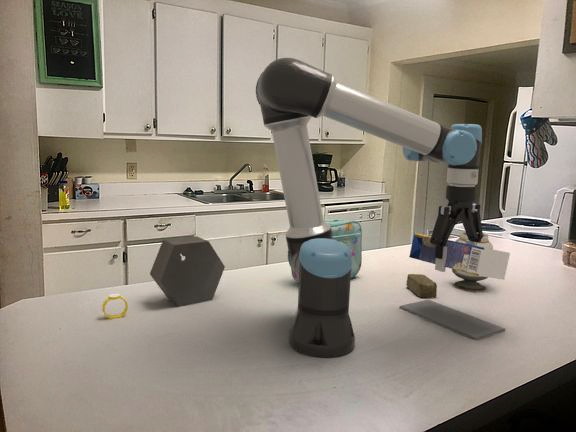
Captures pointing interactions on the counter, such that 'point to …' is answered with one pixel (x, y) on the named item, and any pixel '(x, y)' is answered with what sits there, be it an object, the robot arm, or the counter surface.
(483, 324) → the mat
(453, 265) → the beverage box
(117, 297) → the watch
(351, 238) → the lunch box
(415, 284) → the stone block
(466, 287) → the apothecary jar
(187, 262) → the planter
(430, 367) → the counter surface
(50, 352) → the counter surface
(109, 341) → the counter surface
